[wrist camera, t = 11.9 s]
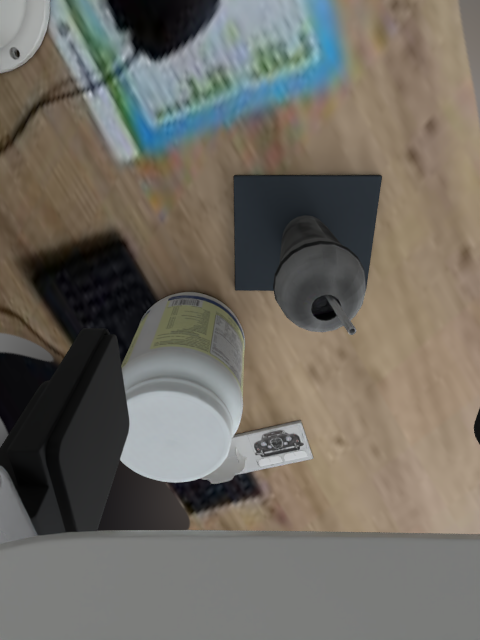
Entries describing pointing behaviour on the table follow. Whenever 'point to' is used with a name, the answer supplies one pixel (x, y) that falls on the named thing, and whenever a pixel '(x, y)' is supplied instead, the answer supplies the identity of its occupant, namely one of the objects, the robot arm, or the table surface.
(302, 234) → the beverage cup
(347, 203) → the mat
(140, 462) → the supplement tub
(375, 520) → the table surface
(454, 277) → the table surface
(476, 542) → the robot arm
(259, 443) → the vintage car picture box
